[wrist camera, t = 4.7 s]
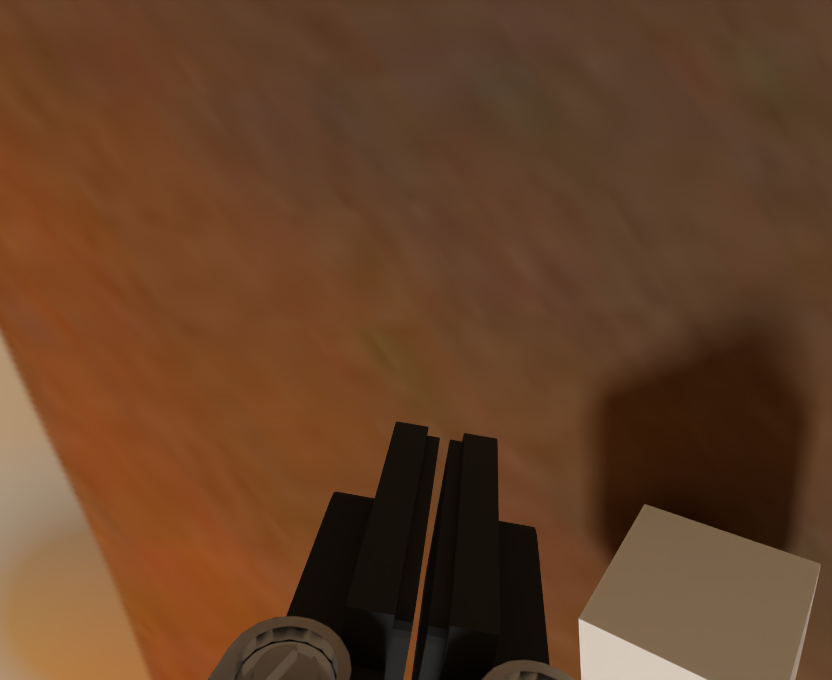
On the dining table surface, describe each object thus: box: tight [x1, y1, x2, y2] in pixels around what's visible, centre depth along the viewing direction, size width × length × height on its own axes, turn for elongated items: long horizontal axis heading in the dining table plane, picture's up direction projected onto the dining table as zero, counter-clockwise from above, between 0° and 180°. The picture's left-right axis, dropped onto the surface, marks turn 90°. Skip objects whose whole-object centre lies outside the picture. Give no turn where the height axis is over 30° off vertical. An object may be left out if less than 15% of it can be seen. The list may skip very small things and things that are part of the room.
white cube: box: [579, 504, 821, 680], centre depth 23 cm, size 6×6×6 cm
